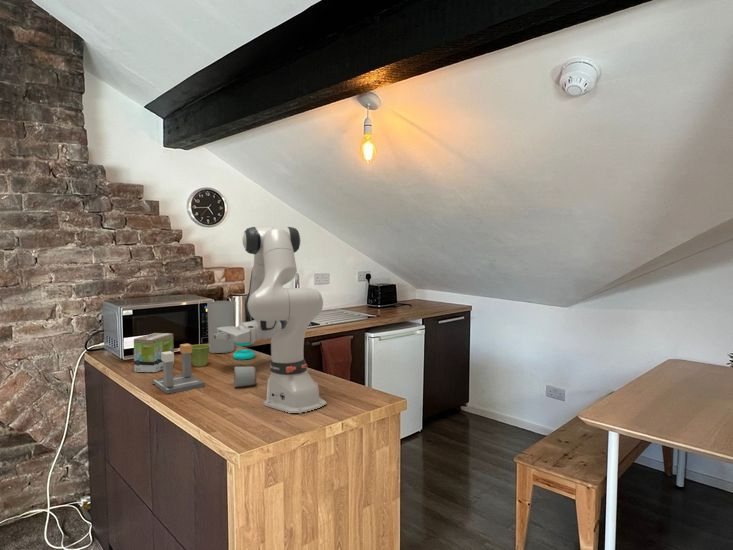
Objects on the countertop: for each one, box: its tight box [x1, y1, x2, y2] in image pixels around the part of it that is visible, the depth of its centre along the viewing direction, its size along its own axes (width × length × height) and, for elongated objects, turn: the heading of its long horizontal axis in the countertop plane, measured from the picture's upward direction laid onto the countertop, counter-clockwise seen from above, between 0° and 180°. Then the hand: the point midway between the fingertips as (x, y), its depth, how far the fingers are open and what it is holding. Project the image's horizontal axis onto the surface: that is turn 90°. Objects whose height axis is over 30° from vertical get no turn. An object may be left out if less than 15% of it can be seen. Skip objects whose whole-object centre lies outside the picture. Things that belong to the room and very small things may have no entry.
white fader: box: [161, 351, 175, 387], centre depth 178 cm, size 4×3×12 cm
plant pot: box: [191, 343, 210, 368], centre depth 215 cm, size 9×9×9 cm
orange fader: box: [179, 343, 193, 377], centre depth 192 cm, size 4×3×12 cm
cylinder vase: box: [206, 300, 236, 354], centre depth 242 cm, size 12×12×25 cm
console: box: [151, 373, 206, 395], centre depth 186 cm, size 18×14×2 cm
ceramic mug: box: [233, 366, 257, 388], centre depth 185 cm, size 11×8×8 cm
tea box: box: [133, 332, 175, 373], centre depth 210 cm, size 15×10×15 cm, turn 171°
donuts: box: [233, 342, 256, 361], centre depth 228 cm, size 10×10×10 cm
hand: (214, 336), depth 199 cm, fingers closed
